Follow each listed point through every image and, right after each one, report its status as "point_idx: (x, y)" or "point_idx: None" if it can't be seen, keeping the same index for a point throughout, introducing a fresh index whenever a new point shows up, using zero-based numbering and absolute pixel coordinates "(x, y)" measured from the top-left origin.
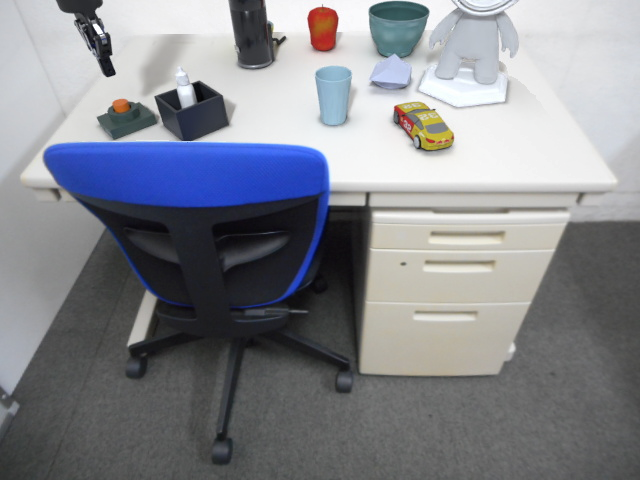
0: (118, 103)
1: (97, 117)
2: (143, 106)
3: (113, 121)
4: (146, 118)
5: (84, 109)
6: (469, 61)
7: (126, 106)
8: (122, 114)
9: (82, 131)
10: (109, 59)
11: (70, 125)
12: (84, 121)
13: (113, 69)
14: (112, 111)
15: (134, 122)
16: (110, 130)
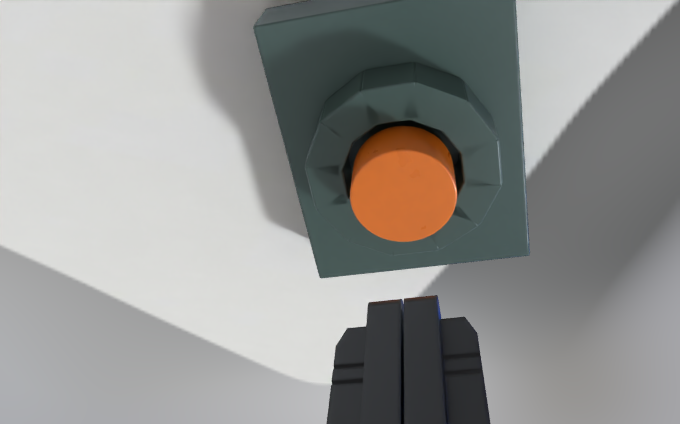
0: (417, 209)
1: (331, 275)
2: (343, 17)
3: None
4: (515, 39)
5: (100, 273)
6: None
7: (447, 162)
8: (495, 194)
9: (334, 316)
10: (446, 414)
11: (245, 344)
12: (235, 294)
13: (437, 330)
14: None
15: (521, 121)
16: (528, 252)
